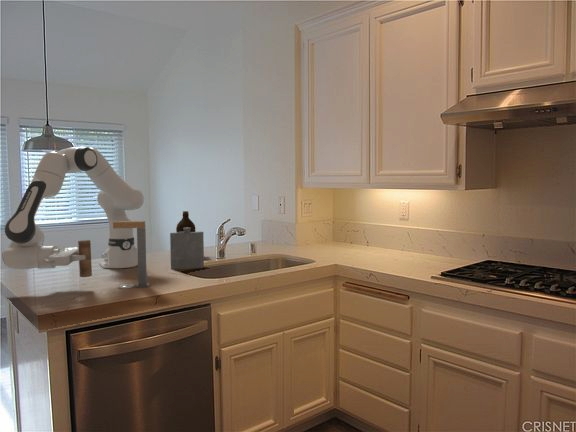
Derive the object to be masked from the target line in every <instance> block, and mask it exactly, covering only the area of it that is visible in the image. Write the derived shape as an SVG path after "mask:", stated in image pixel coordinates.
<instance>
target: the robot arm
mask: <svg viewBox="0 0 576 432" xmlns="http://www.w3.org/2000/svg"><path fill="white" fill-rule="evenodd" d="M81 172H85V174H86V175H87V177H88V178H89V179H90V181H91V182H92V183H93V184H94V186H95V188H97V189H99V190H100V191H99V192H98V194H97V198H96V199H97V200H96V201H97V204H98V205H99V207H101V209H103V211H104V213H105V215H106V217H107V220H108V221H107V222H108V227H109V238H108V242H107V243H108V245H107V248H106V249H105V251H104V252H103V253H101V258H102V259H103V260H102V261H99V262H98V264H99V265H100V267H102V268H103V269H125V268H134V267H138V252H137V247H136V246H135V241H136V240H135V237H134V228H113V222H116V221H133V220H132V219H131V218H130V217H129V216H128V215H127V213H126V211H134V210H139V209H140V208H141V207H142V206H143V204H144V200H145V198H144V194H143V192H142V191H141V190H140V189H137V188H135V187H133V186H132V185H131V184H129V183H128V182H127V181H125V180H124V179H123V178H122V177H121V176H120V175H119V174H118V173H117V171H115V169H114V168H113V167H112V165H111V163H110V162H109V161H108V159H106V157H105V156H104V155H103V154H102V153H101V152H100V151H99V150H98V149H97V148H94V147H88V146H74V147H72V146H71V147H68V148H63V149H56V150H55V151H47V152H45V154H43V156H42V157H41V159H40V161H39V163H38V165H37V167H36V169H35V171H34V174H33V177H32V180H31V182H30V183H29V185H28V186H27V188H26V190H25V192H24V195H22V198H21V201H20V203H19V205H18V207H17V210H16V211H15V213H14V214H13V215H12V216H11V217H10V218H9V219H8V220H7V222H5V226H4V234H5V236H6V238H7V239H8V240H9V241H11V242H10V243H9V245H8V246H7V247H6V248H5V249H3V250H2V253H1V254H2V255H1V257H2V262H3V264H4V266H5V267H7V268H8V269H10V270H32V269H39V270H43V269H44V270H45V269H46V270H47V269H55V268H56V267H65V266H69V265H70V264H72V263H73V262H76V261H78V262H79V260H85V259H86V255H79V248H78V246H77V247H76V246H61V247H60V245H44V241H45V234H44V231H43V230H42V229H41V228H40V227H39V226H38V225H37V224H36V223H35V217H36V214H37V211H38V210H39V208H40V205H41V203H42V201H43V200H44V199H45V198H46V199H47V198H48V199H50V198H54V197H56V196H57V195H58V194H59V193H60V191H61V189H62V188H63V184H64V181H65V177H66V175H67V174H77V173H81Z"/></svg>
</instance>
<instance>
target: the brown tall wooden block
mask: <svg viewBox="0 0 576 432" xmlns="http://www.w3.org/2000/svg"><path fill="white" fill-rule="evenodd" d="M77 245H78V246H77V248H79V255H86V259H85V260H78V264H79V267H78V268H79V277H80V278H88V277H91V276H93V273H92V270H93V269H92V268H93V267H92V266H93V265H92V249H91V248H92V247H91V245H92V244H91V240H90V239H83V240H78V242H77Z"/></svg>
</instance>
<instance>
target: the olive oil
mask: <svg viewBox="0 0 576 432" xmlns="http://www.w3.org/2000/svg"><path fill="white" fill-rule="evenodd" d="M186 227H189V228H191V229H190V232H196V225H195V223H194V222H193V221H192V220H191V219H190V217H189V210H188V211H186V210H182V218H181V219H180V220H179V222H177V224H176V228H175V233H177V232H184V230H183V228H186Z"/></svg>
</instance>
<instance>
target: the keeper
mask: <svg viewBox="0 0 576 432" xmlns="http://www.w3.org/2000/svg"><path fill="white" fill-rule="evenodd" d="M113 228H133V229H136V241H137V242H136V244H137V245H136V246H137V247H136V248H137V253H138V265H137V275H138V276H137V280H138V281H137V283H136V284H134V283H123V284H119V285H117V286H116V288H117V289H123V290H124V289H125V290H127V289H132V288H137V289H138V288H149V286H150V282H148V278H147V275H148V274H147V273H148V272H147V271H148V270H147V240H146V239H147V238H146V236H147V235H146V232H147V231H146V230H147V229H146V220H134V221H133V220H132V221H116V222H113Z"/></svg>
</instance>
